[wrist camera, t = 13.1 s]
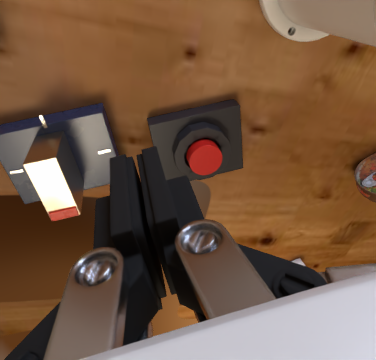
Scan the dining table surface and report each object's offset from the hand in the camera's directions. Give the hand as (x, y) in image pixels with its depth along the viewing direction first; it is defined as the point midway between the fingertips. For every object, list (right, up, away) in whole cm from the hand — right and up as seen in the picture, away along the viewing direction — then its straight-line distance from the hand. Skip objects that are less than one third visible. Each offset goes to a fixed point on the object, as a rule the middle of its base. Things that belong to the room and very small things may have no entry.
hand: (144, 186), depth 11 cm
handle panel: (-13, +4, +26) cm, 30 cm away
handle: (-13, +2, +24) cm, 27 cm away
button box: (+3, +5, +30) cm, 30 cm away
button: (+3, +3, +27) cm, 27 cm away
